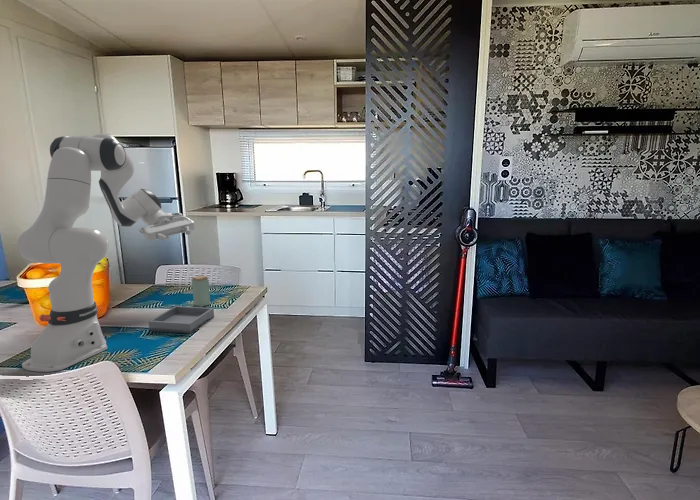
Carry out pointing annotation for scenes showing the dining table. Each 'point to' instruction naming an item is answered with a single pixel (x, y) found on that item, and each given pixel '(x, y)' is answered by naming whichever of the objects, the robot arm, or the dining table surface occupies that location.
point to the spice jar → (201, 291)
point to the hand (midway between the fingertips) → (178, 236)
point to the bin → (181, 319)
